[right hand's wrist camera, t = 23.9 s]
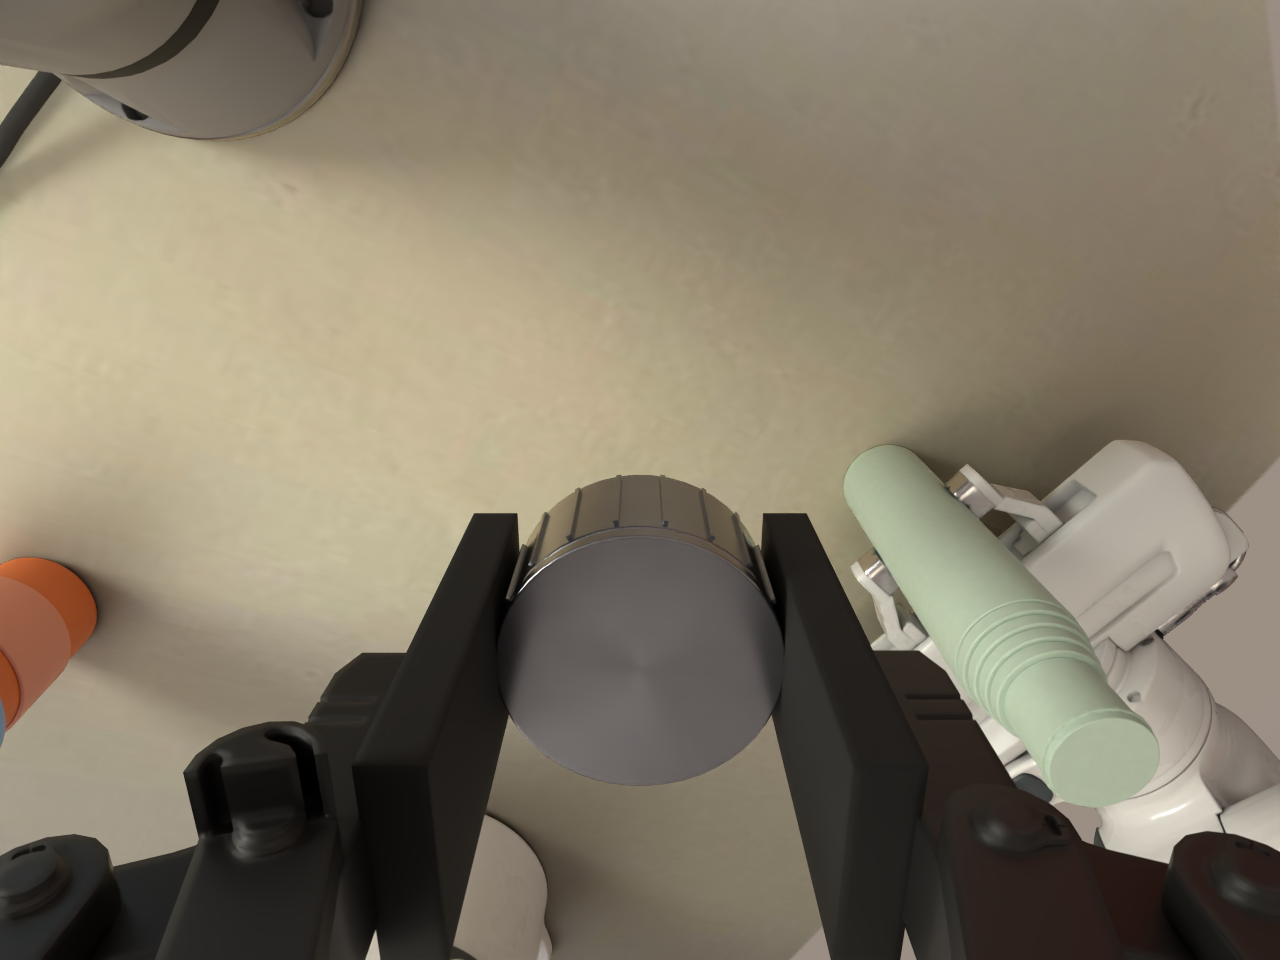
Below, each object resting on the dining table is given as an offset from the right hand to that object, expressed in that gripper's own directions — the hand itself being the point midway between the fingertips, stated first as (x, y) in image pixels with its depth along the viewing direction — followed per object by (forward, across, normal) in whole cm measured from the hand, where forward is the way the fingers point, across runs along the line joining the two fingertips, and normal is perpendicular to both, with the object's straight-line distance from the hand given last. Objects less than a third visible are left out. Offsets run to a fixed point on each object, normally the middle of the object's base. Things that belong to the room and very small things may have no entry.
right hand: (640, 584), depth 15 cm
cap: (-2, 0, 0) cm, 2 cm away
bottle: (+29, +13, -9) cm, 33 cm away
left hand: (+23, +13, -8) cm, 27 cm away
